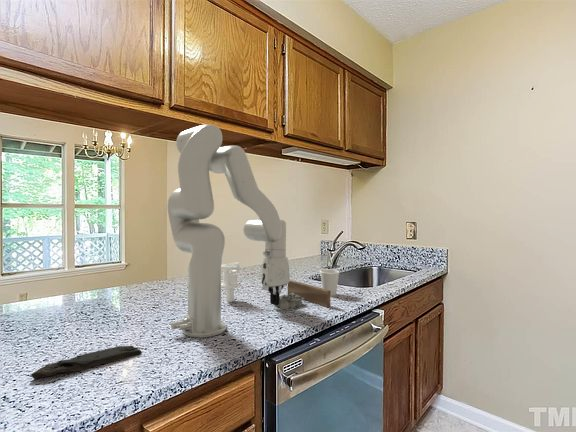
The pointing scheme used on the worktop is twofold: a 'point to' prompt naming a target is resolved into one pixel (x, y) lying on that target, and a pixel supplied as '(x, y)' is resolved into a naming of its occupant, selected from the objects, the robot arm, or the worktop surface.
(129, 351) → the wood
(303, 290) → the walnut board
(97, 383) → the worktop surface
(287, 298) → the egg carton
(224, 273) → the white plastic bottle
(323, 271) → the dixie cup
